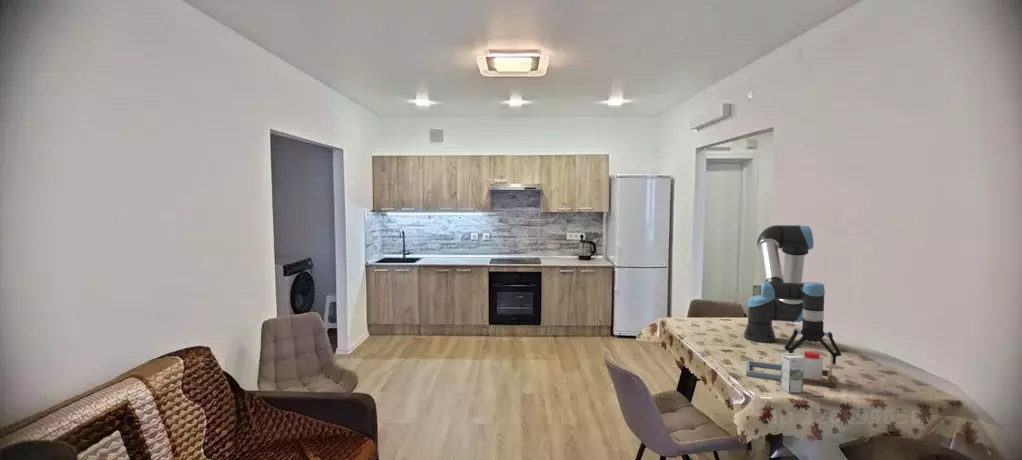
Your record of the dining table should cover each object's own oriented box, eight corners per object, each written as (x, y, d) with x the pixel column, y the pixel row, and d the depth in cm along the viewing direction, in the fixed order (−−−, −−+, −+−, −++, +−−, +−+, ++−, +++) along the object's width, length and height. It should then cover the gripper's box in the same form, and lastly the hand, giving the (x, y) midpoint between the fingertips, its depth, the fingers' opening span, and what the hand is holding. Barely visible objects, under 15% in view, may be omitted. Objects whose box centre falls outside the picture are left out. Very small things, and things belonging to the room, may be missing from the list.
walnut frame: (788, 369, 214) (789, 365, 214) (830, 375, 207) (830, 370, 207) (791, 381, 200) (791, 377, 200) (835, 387, 193) (836, 383, 193)
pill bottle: (811, 382, 199) (812, 356, 198) (796, 376, 206) (796, 351, 206) (826, 380, 201) (827, 355, 200) (810, 374, 209) (811, 349, 208)
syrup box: (793, 387, 194) (794, 352, 194) (803, 393, 189) (804, 357, 188) (780, 387, 194) (780, 352, 193) (788, 393, 188) (789, 357, 187)
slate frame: (746, 364, 222) (746, 360, 221) (784, 369, 215) (784, 364, 215) (746, 375, 208) (746, 371, 208) (787, 381, 201) (787, 376, 201)
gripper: (779, 318, 204) (778, 367, 206) (850, 324, 193) (848, 376, 195) (778, 314, 211) (777, 362, 212) (847, 320, 200) (845, 370, 201)
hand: (811, 369), depth 203 cm, fingers open, 13 cm apart
